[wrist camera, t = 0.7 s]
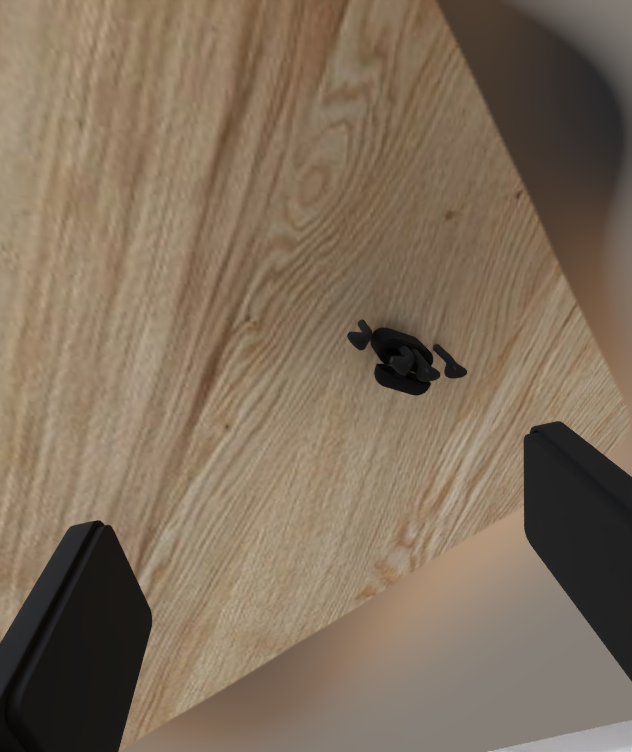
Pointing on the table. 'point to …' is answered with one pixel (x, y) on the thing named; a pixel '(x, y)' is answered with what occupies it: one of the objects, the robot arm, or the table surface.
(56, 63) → the table surface
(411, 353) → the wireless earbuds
